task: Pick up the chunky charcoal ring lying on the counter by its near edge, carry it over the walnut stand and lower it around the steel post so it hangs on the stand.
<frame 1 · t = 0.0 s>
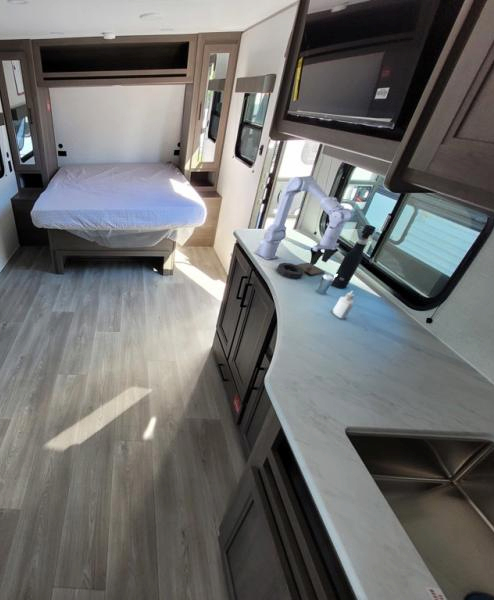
hand: (318, 262, 146), 10 cm above the worktop, tool pointing down, fingers open, 7 cm apart
eye dropper bottle: (338, 315, 129), on the worktop
black thermos flask: (338, 285, 150), on the worktop
stand: (308, 270, 161), on the worktop
ring: (289, 273, 158), on the worktop
milkshake: (321, 292, 143), on the worktop
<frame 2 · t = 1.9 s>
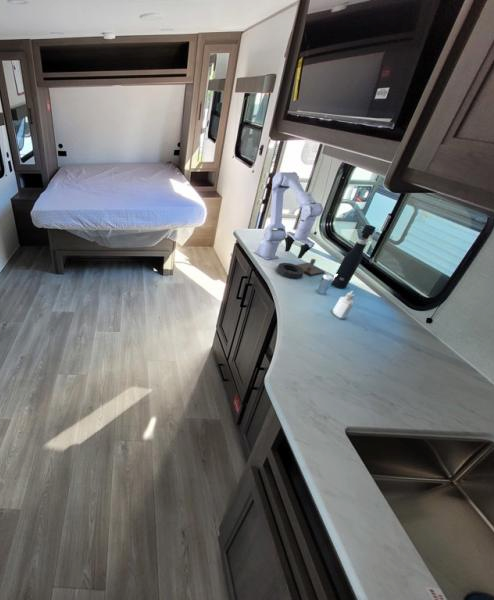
hand: (293, 254, 154), 9 cm above the worktop, tool pointing down, fingers open, 7 cm apart
nothing on the worktop moved.
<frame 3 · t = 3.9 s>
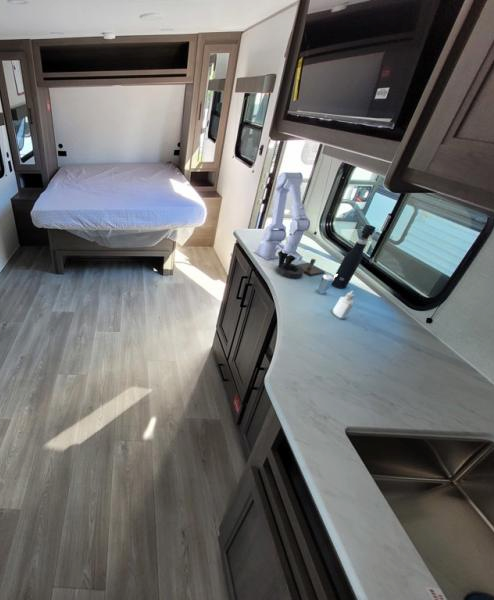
hand: (282, 266, 160), 1 cm above the worktop, tool pointing down, fingers closed on ring, 2 cm apart
ring: (288, 272, 158), on the worktop, touching gripper
everything else where it was.
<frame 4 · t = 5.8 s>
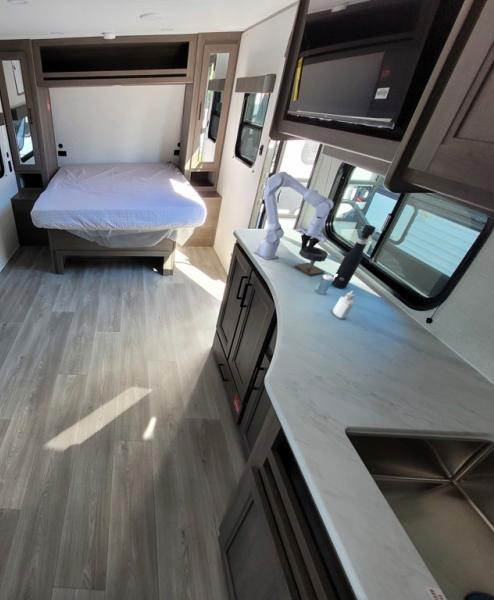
hand: (305, 249, 158), 10 cm above the worktop, tool pointing down, fingers closed on ring, 2 cm apart
ring: (312, 256, 156), point 8 cm above the worktop, touching gripper
everything else where it was.
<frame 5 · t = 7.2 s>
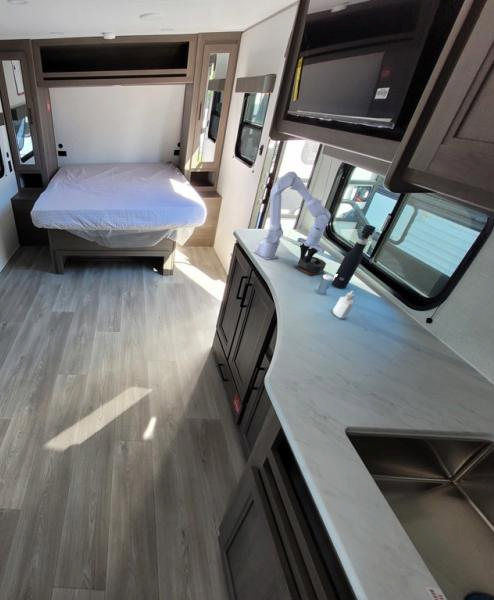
hand: (304, 259, 162), 4 cm above the worktop, tool pointing down, fingers closed on ring, 2 cm apart
ring: (310, 265, 160), point 3 cm above the worktop, touching gripper
everything else where it was.
when the fingers open (3 cm above the worktop, at t = 8.2 s): ring stays where it is, resting on stand.
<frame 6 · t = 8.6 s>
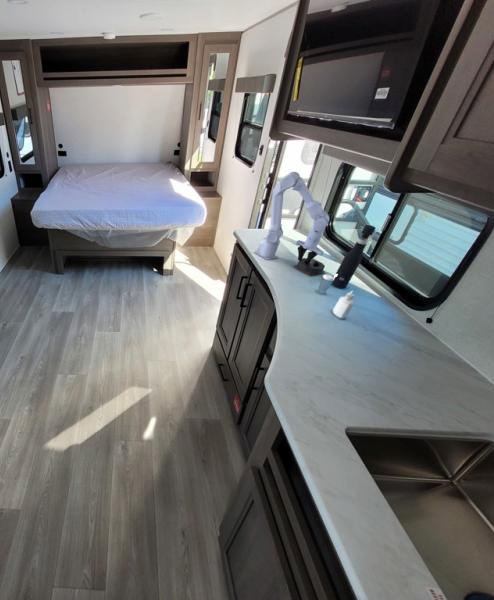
hand: (303, 261, 163), 3 cm above the worktop, tool pointing down, fingers open, 4 cm apart
ring: (309, 268, 160), point 1 cm above the worktop, touching stand
everything else where it was.
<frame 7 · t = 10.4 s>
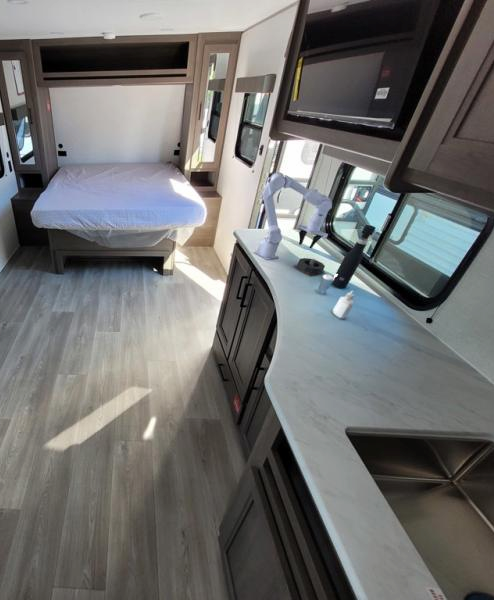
hand: (305, 246, 163), 9 cm above the worktop, tool pointing down, fingers open, 5 cm apart
nothing on the worktop moved.
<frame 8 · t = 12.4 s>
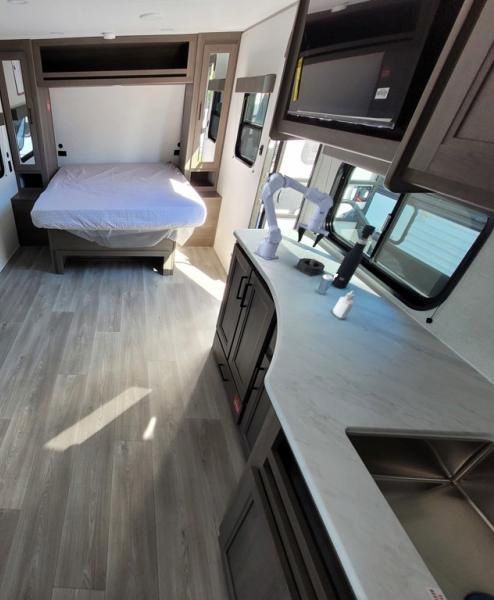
hand: (306, 244, 163), 10 cm above the worktop, tool pointing down, fingers open, 7 cm apart
nothing on the worktop moved.
at the end: ring 0.1 cm from the stand (horizontally); ring point 1.2 cm above the worktop; the gripper is holding nothing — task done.
